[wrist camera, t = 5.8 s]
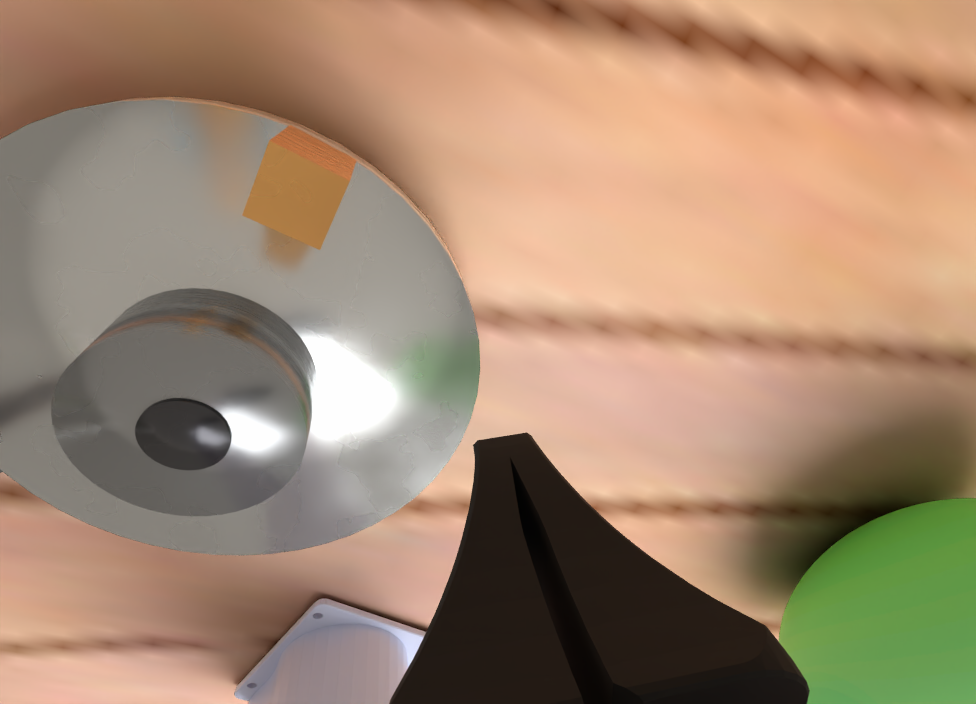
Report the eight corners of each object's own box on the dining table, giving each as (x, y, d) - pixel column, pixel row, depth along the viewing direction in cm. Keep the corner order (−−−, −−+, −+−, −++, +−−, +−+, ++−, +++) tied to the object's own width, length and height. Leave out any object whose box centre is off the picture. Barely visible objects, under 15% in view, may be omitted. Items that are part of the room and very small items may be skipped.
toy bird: (935, 397, 28) (1378, 680, 15) (1036, 515, 35) (1395, 775, 23) (682, 593, 33) (858, 924, 21) (814, 661, 40) (1005, 937, 28)
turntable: (322, 582, 26) (310, 665, 23) (-136, 421, 19) (-259, 508, 15) (569, 313, 21) (605, 367, 17) (67, -68, 13) (-52, -110, 10)
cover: (254, 483, 21) (233, 548, 18) (64, 399, 18) (6, 462, 15) (356, 361, 19) (350, 414, 16) (162, 245, 16) (114, 285, 13)
